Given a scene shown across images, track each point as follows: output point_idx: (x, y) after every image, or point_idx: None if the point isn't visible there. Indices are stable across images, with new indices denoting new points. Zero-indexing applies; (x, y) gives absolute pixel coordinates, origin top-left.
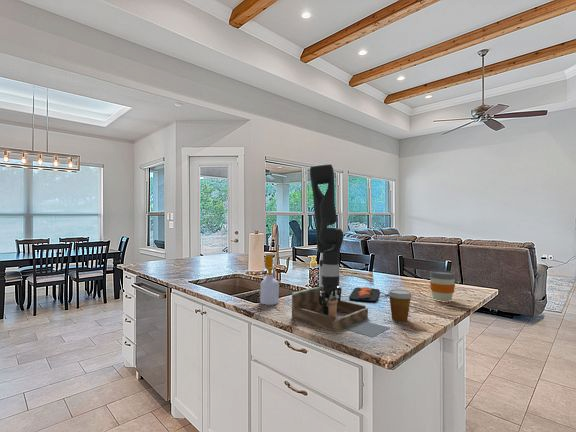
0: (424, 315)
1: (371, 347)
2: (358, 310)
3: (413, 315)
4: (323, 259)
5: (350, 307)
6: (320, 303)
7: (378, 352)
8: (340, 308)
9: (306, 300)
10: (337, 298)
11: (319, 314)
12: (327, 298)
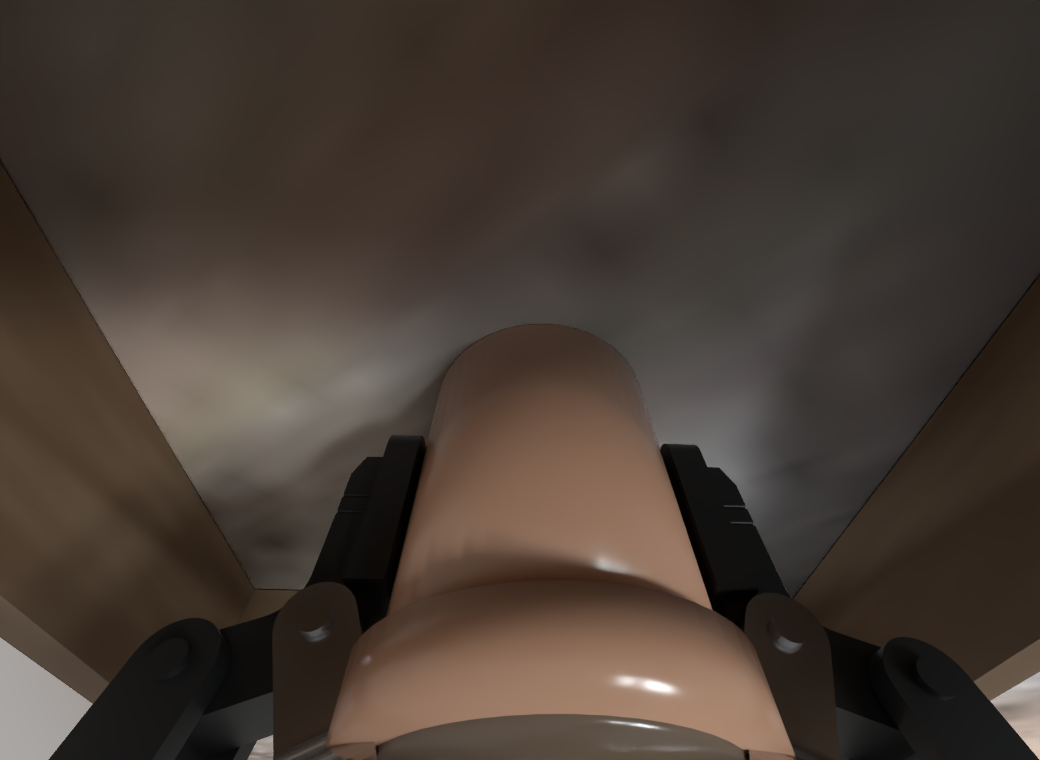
0: (1032, 746)
1: (272, 735)
2: (857, 637)
3: (1014, 727)
4: None
5: (939, 586)
6: (141, 690)
7: (258, 752)
8: (1023, 400)
9: None
10: (886, 758)
11: (24, 645)
12: (580, 758)
